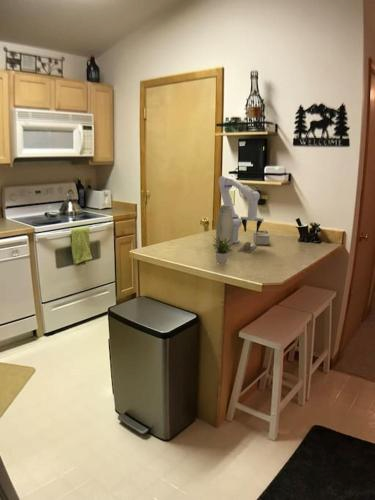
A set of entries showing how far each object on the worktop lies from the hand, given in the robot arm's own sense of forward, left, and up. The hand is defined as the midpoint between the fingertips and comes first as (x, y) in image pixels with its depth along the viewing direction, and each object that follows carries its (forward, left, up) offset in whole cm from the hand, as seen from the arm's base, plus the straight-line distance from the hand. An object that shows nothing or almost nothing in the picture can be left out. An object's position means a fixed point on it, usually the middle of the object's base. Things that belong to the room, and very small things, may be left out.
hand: (251, 231), depth 257 cm
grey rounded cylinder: (-13, -16, -10) cm, 23 cm away
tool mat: (0, -7, -9) cm, 12 cm away
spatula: (0, -7, -9) cm, 11 cm away
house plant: (-7, -46, -10) cm, 48 cm away
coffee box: (+6, +7, -6) cm, 11 cm away
